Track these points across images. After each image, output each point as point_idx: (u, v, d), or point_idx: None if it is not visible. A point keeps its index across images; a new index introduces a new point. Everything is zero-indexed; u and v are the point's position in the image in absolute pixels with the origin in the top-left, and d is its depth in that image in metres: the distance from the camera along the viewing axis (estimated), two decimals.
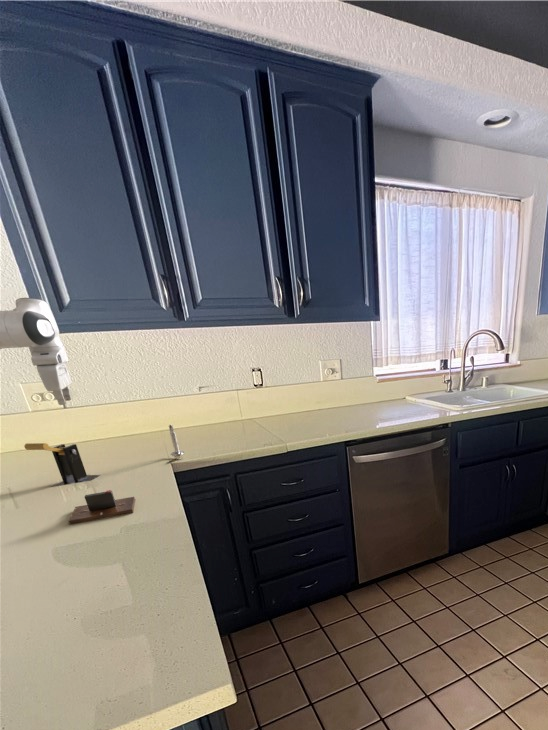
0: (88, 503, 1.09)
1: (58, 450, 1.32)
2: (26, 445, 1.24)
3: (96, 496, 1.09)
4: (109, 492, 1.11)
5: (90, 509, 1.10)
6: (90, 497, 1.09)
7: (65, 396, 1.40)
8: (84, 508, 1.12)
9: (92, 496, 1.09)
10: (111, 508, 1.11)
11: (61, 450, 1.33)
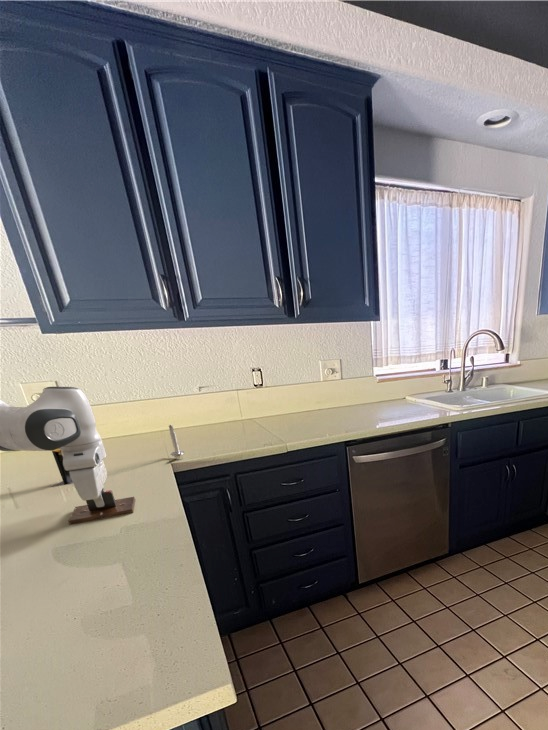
0: (88, 503, 1.09)
1: (58, 450, 1.32)
2: None
3: None
4: (109, 492, 1.11)
5: (90, 509, 1.10)
6: None
7: None
8: (84, 508, 1.12)
9: None
10: (111, 508, 1.11)
11: None
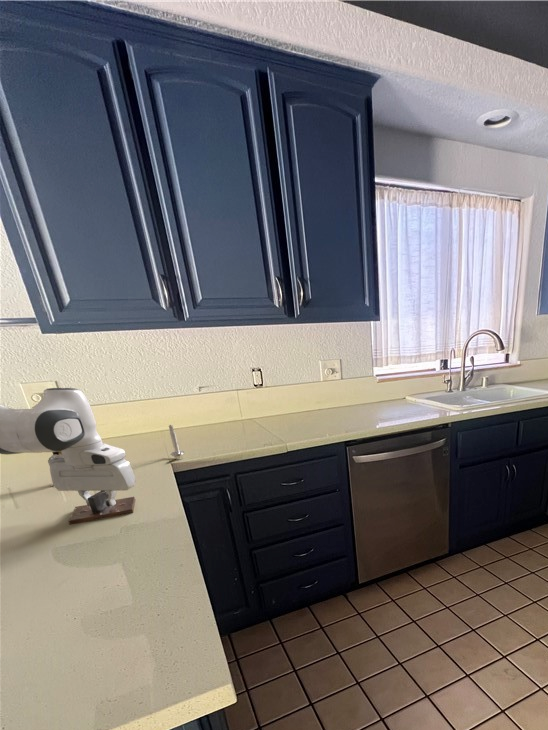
0: (96, 504, 1.09)
1: None
2: None
3: (100, 495, 1.10)
4: None
5: (98, 510, 1.09)
6: (97, 497, 1.09)
7: None
8: (84, 508, 1.12)
9: (98, 496, 1.09)
10: (111, 508, 1.11)
11: None
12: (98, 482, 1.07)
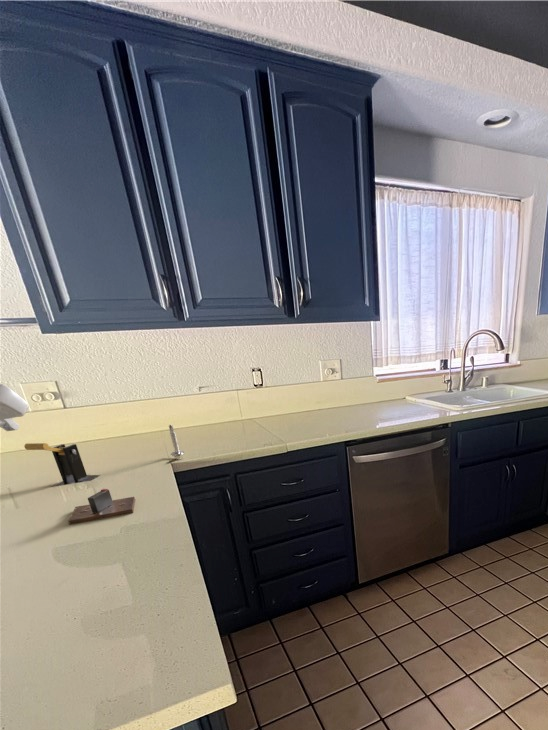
0: (96, 504, 1.09)
1: (58, 450, 1.32)
2: (26, 445, 1.24)
3: (100, 495, 1.10)
4: (107, 489, 1.12)
5: (98, 510, 1.09)
6: (97, 497, 1.09)
7: None
8: (84, 508, 1.12)
9: (98, 496, 1.09)
10: (111, 508, 1.11)
11: (61, 450, 1.33)
12: None
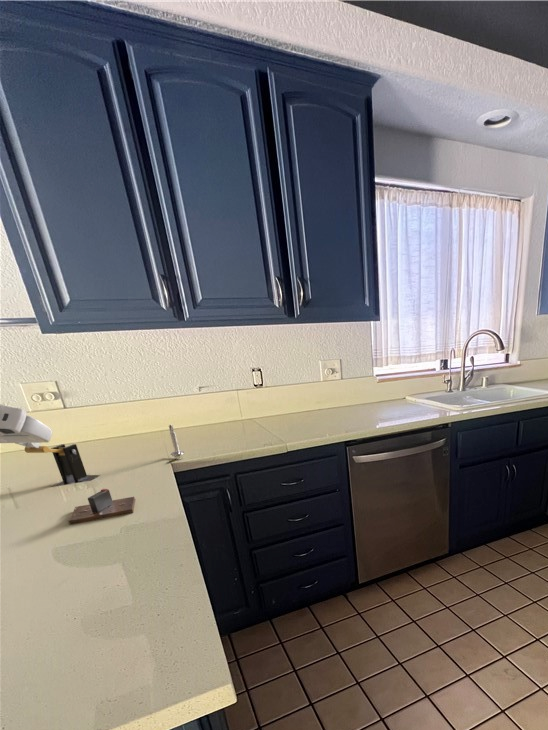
0: (96, 504, 1.09)
1: (58, 451, 1.32)
2: (26, 448, 1.24)
3: (100, 495, 1.10)
4: (107, 489, 1.12)
5: (98, 510, 1.09)
6: (97, 497, 1.09)
7: None
8: (84, 508, 1.12)
9: (98, 496, 1.09)
10: (111, 508, 1.11)
11: (61, 451, 1.33)
12: (19, 439, 1.17)
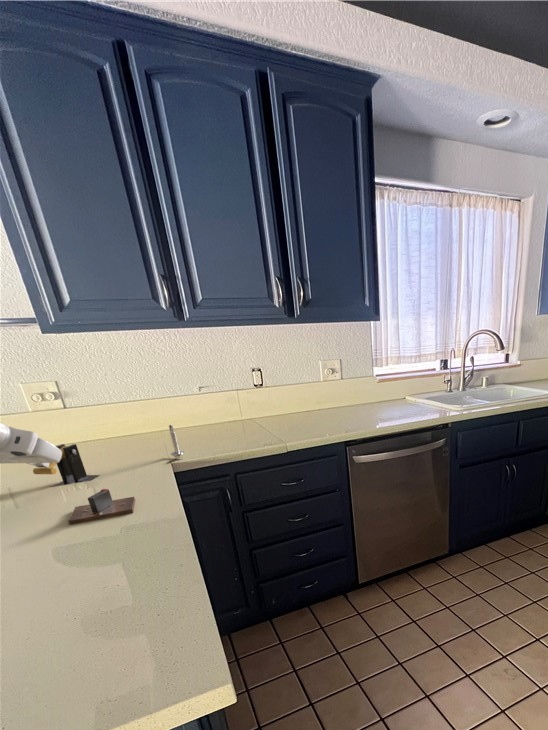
0: (96, 504, 1.09)
1: (61, 457, 1.32)
2: (35, 472, 1.27)
3: (100, 495, 1.10)
4: (107, 489, 1.12)
5: (98, 510, 1.09)
6: (97, 497, 1.09)
7: (40, 464, 1.26)
8: (84, 508, 1.12)
9: (98, 496, 1.09)
10: (111, 508, 1.11)
11: (62, 455, 1.33)
12: (30, 459, 1.20)
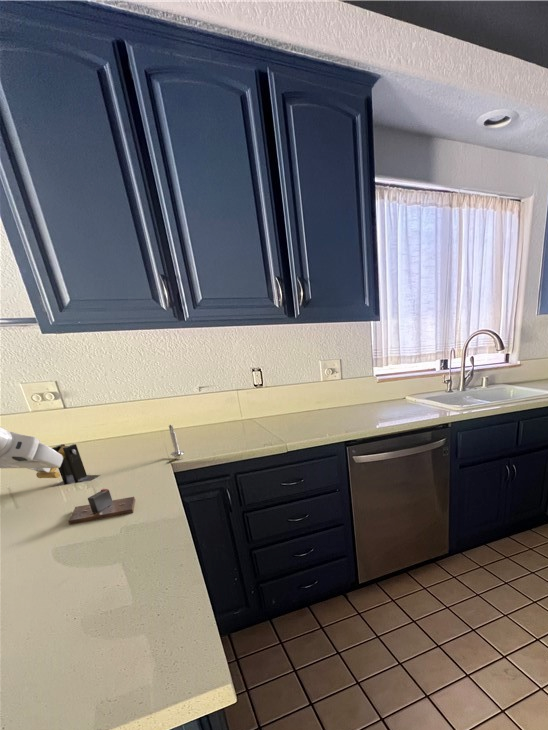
0: (96, 504, 1.09)
1: None
2: (38, 476, 1.28)
3: (100, 495, 1.10)
4: (107, 489, 1.12)
5: (98, 510, 1.09)
6: (97, 497, 1.09)
7: (41, 469, 1.26)
8: (84, 508, 1.12)
9: (98, 496, 1.09)
10: (111, 508, 1.11)
11: (63, 456, 1.33)
12: (31, 465, 1.20)
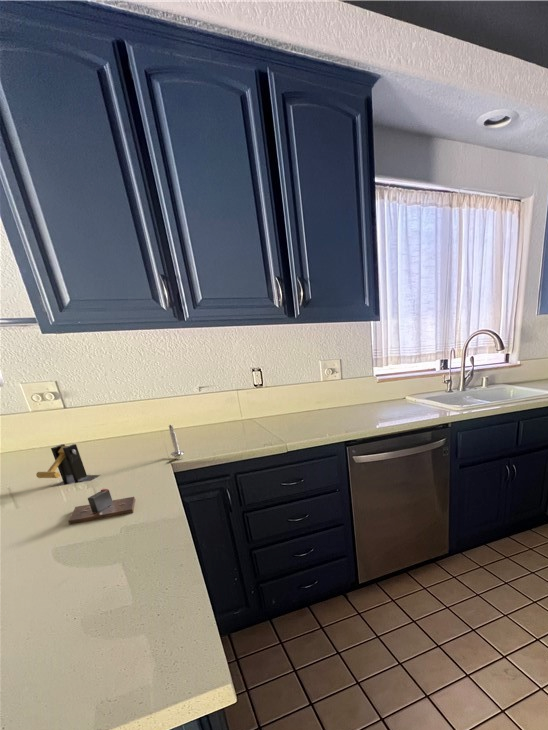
0: (96, 504, 1.09)
1: (62, 459, 1.33)
2: (38, 476, 1.28)
3: (100, 495, 1.10)
4: (107, 489, 1.12)
5: (98, 510, 1.09)
6: (97, 497, 1.09)
7: None
8: (84, 508, 1.12)
9: (98, 496, 1.09)
10: (111, 508, 1.11)
11: (63, 456, 1.33)
12: None
